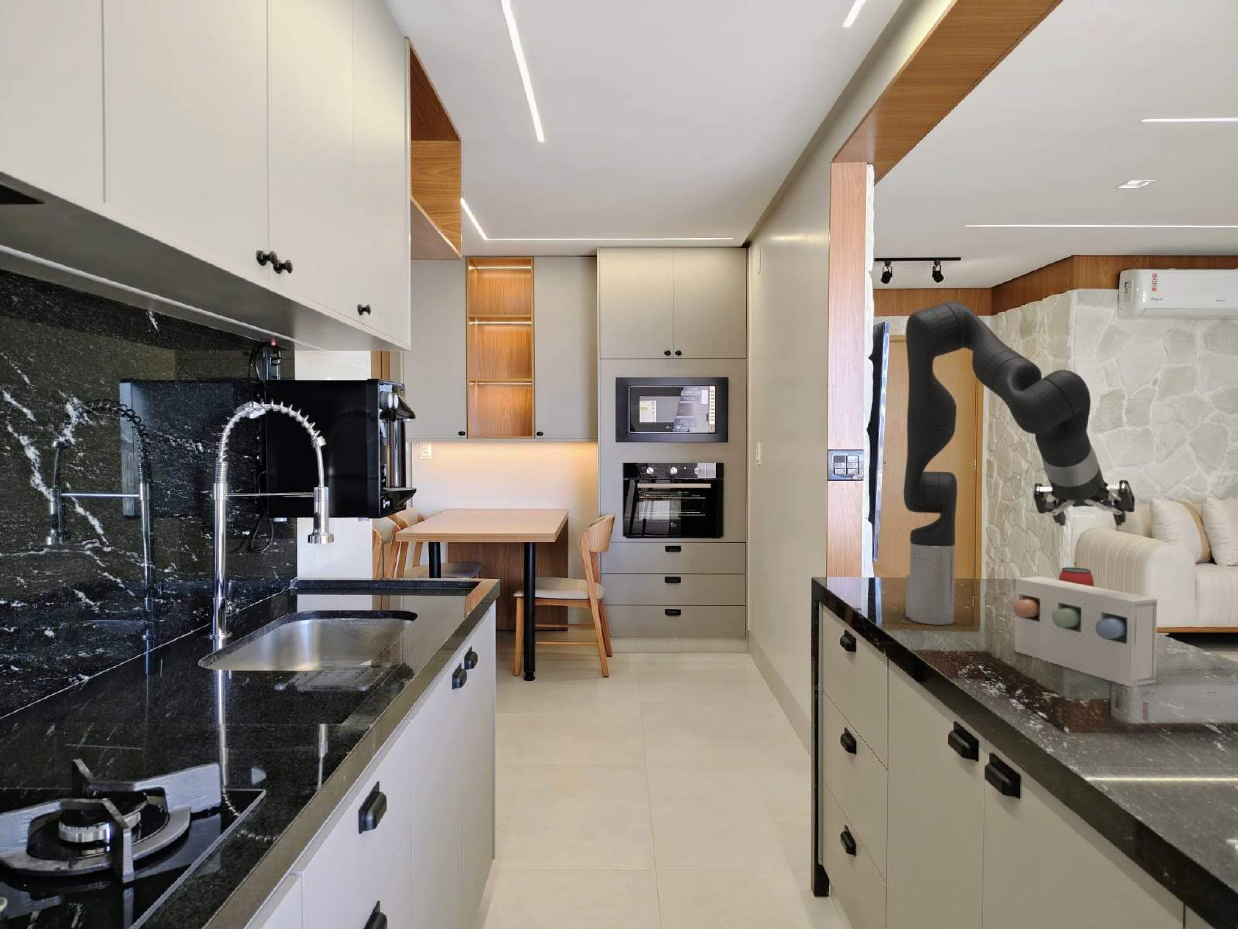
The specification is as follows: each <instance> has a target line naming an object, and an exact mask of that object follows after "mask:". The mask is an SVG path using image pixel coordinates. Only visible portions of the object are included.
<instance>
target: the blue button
mask: <svg viewBox="0 0 1238 929" xmlns="http://www.w3.org/2000/svg"><path fill="white" fill-rule="evenodd" d="M1095 628H1096V632H1097V634H1098V635H1099V636H1100V637H1102V638H1104V639H1112V638H1119V637H1124V636H1126V635H1127V622H1126V621H1125V620H1124V619H1122V618H1119V617H1117V618H1109V619H1101V620H1099V621H1098V622H1097V623H1096V626H1095Z"/></svg>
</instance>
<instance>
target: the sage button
mask: <svg viewBox="0 0 1238 929" xmlns="http://www.w3.org/2000/svg"><path fill="white" fill-rule="evenodd" d="M1052 620H1053V622H1054V624H1055V625H1056V626H1058V627H1060V628H1065V627H1073V626H1079V625H1081V611H1080V610H1079V609H1077V608H1065V609H1057V610H1055V611H1054V612H1053V614H1052Z"/></svg>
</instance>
